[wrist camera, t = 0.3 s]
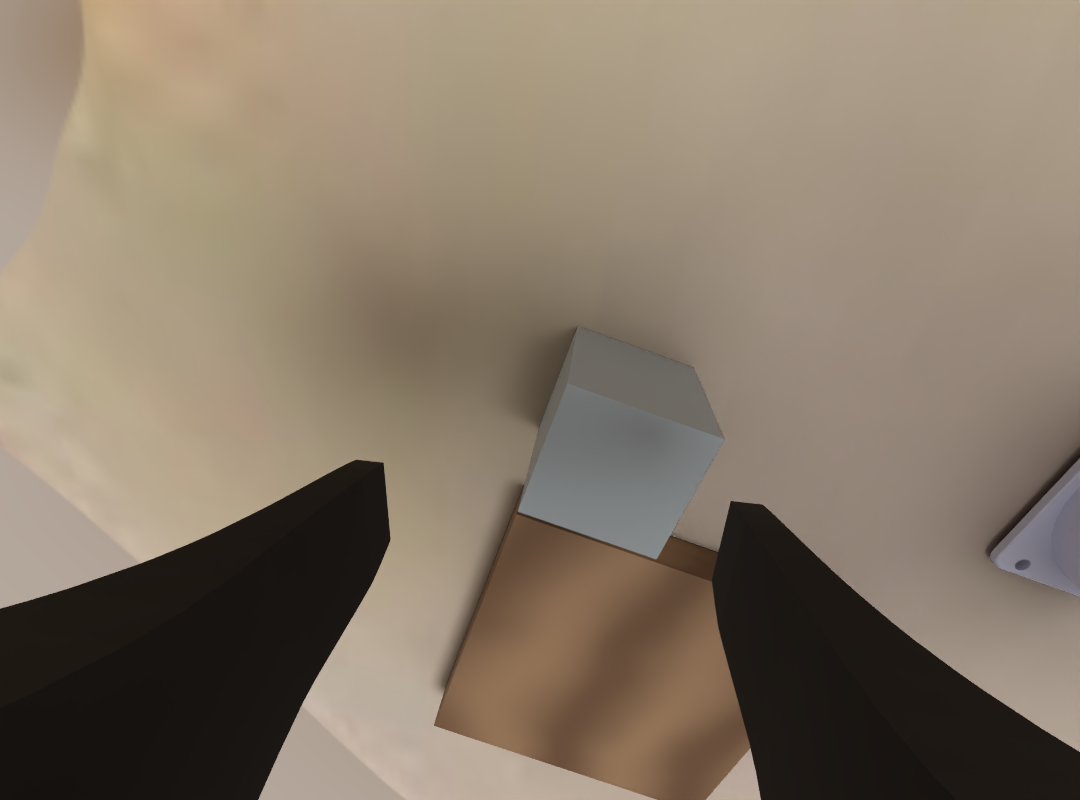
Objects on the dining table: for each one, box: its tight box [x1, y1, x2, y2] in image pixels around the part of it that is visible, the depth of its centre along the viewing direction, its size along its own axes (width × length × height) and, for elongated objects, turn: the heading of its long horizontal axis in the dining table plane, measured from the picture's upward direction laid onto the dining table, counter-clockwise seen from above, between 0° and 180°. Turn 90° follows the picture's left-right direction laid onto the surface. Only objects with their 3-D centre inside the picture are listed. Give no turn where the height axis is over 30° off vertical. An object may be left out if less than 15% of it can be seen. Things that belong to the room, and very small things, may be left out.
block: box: [518, 326, 725, 559], centre depth 17 cm, size 4×4×6 cm
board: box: [434, 486, 750, 800], centre depth 24 cm, size 14×14×2 cm
